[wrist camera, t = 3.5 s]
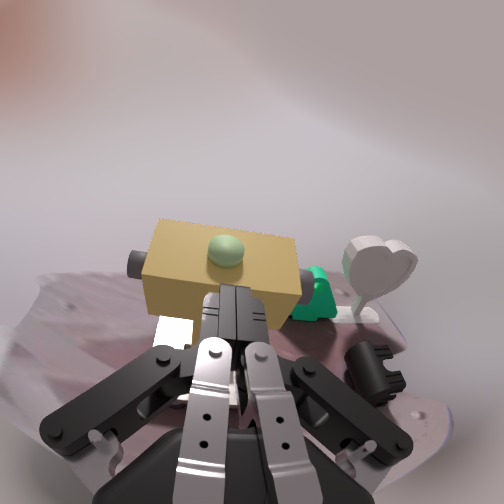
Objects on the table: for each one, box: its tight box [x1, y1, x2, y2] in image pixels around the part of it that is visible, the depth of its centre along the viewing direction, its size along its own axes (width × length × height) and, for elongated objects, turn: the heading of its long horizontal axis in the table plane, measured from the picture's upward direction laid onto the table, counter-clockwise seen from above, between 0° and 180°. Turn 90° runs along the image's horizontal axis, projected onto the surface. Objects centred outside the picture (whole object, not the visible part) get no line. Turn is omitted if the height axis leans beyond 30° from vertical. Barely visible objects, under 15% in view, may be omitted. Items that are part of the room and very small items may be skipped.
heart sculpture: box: [329, 236, 418, 323], centre depth 52 cm, size 16×5×18 cm, turn 96°
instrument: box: [127, 219, 315, 347], centre depth 29 cm, size 16×6×20 cm, turn 93°
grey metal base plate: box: [153, 316, 238, 409], centre depth 37 cm, size 15×15×6 cm
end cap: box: [344, 340, 406, 408], centre depth 39 cm, size 10×7×7 cm
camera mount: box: [290, 266, 338, 321], centre depth 52 cm, size 12×8×10 cm, turn 91°
